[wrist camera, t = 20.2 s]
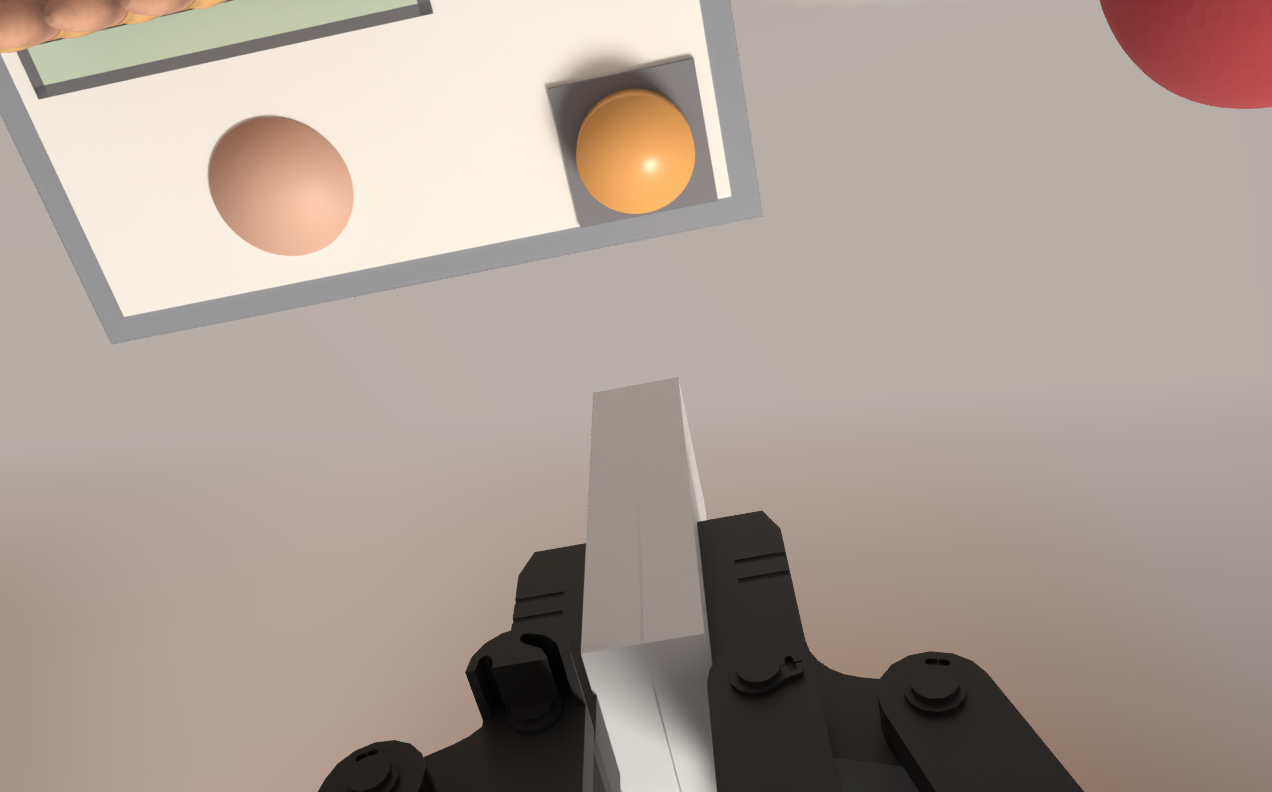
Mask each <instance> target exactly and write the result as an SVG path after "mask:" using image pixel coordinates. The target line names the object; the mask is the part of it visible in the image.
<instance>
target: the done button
mask: <svg viewBox="0 0 1272 792" xmlns="http://www.w3.org/2000/svg"><path fill="white" fill-rule="evenodd" d="M576 162H577V169H578V172H579V175H580V178H581V180H582V182H583V184H584V185H585V187H586V189H587V190H588V191H589V192H590V194H591V195H592V196H593V197H594V198H595V199H596V200H597V201H599V202H600V203H602V204H603V205H605V206H607V207H608V208H610V209H613V210H615V211H619V212H623V213H629V214H642V213H648V212H652V211H655V210H658V209H660V208H662V207H664V206H666V205H668V204H669V203H671V202H672V201H673V200H675V199H676V198H677V197H678V196H679V195H680V194H681V192H682V191H683V190H684V189H685V187H686V185H687V184H688V182H689V180H690V178H691V175H692V172H693V169H694V163H695V146H694V141H693V137H692V133H691V129H690V126H689V123H688V121H687V119H686V117H685V116H684V114H683V113H682V111H681V110H680V109H679V107H678V106H677V105H676V104H675V103H673V102H672V101H671V100H670V99H668V98H667V97H665V96H663V95H662V94H659V93H657V92H655V91H651V90H647V89H640V88H630V89H623V90H620V91H616V92H614V93H611V94H609V95H607V96H606V97H604V98H602V99H601V100H600V101H598V102H597V103H596V104H595V105H594V106H593V107H592V108H591V109H590V111H589V112H588V113H587V115H586V116H585V118H584V120H583V122H582V124H581V127H580V130H579V134H578V140H577V149H576Z"/></svg>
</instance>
